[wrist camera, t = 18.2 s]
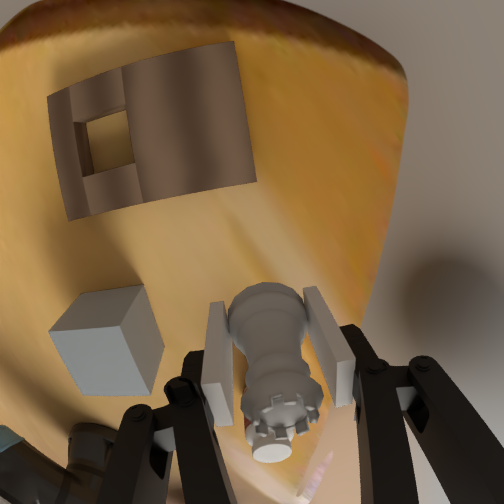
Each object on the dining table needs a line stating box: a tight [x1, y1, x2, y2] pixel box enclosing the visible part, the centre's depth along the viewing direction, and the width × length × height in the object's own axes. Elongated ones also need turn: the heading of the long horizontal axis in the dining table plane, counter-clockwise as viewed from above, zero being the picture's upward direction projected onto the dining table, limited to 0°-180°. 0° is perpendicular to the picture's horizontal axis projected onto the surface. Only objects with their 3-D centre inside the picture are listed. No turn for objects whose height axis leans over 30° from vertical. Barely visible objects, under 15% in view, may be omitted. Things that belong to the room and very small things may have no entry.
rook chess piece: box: [228, 282, 324, 440], centre depth 14 cm, size 4×4×8 cm
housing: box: [48, 284, 165, 396], centre depth 31 cm, size 9×9×9 cm
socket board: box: [47, 41, 257, 221], centre depth 27 cm, size 20×14×3 cm
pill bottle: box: [243, 387, 294, 463], centre depth 35 cm, size 6×6×11 cm
